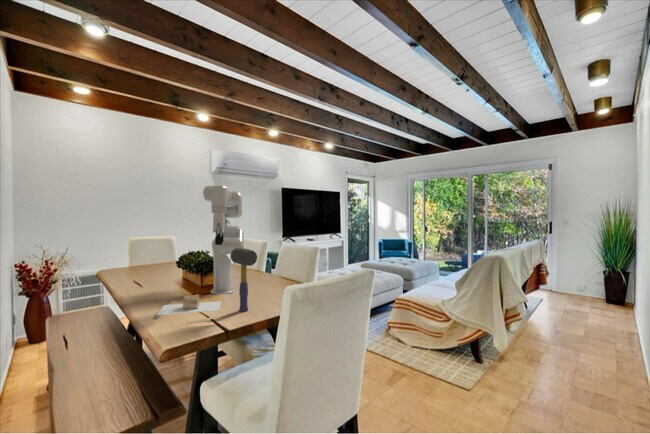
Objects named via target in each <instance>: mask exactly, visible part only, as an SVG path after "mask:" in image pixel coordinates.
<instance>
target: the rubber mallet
mask: <svg viewBox="0 0 650 434" xmlns="http://www.w3.org/2000/svg"><path fill="white" fill-rule="evenodd" d="M230 260H231V262H233V263H235V264H238V265H240V284H239V309H238V310H239V313H246V312H248V311H249V306H248V296H249V295H248V294H249V288H248V286H249V285H248V278H247V277H248V275H247V271H248V270H247V266H251V267H252V266H253V265H255V263H256V262H257V260H258V255H257V253H256V251H254V250H253V249H252V250H251V249H249V248H244V249H243V248H236V249H234V250H233V251H232V252H231V254H230Z"/></svg>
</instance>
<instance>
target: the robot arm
mask: <svg viewBox="0 0 650 434" xmlns="http://www.w3.org/2000/svg"><path fill="white" fill-rule="evenodd" d="M202 191H203V192H202V195H203V199H204V200H205V201H207V202H211V213H212V214H213V215H212V216H213V217H212V220H213V221H212V222H213V224H212V233H215V237H214V239H213V240H212V242H211V249H212V255H213V256H212V257H213V288H212V289H211V290H210V293H211V294H212V295H215V296H216V295H218V296H219V295H229V294H232V293H234V291H235V289H234V288H233V287H232V260H231V257H230V256H228V254H229V255H231V252H232V251H233V250H234V249H236V248H243V249H245V248H244V247H245V240H244V238H245V237H244V236H245V233H244V232H245V231H244V229H243V227H242V226H239V225H238V226H237V225H233V226H232V223H231V221H229V220H228V219H230V218H231V219H236V218H237V219H238V218H241V217H242V214H243V200H242V195H241V193H240V192H239V191H236V190H235V191H233V190H232V189H231V188H230V187H229V186H226V185H217V184H216V185H207V186H205V187H203V190H202Z"/></svg>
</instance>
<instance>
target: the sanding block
mask: <svg viewBox="0 0 650 434" xmlns="http://www.w3.org/2000/svg"><path fill="white" fill-rule="evenodd" d="M199 299H200V295H199V294H195V295H185V296H184V297H183V299H182V301H183V302H182V304H183V310H187V309H197V308H198V306H199V303H200V301H199Z"/></svg>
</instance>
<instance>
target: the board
mask: <svg viewBox="0 0 650 434" xmlns="http://www.w3.org/2000/svg"><path fill="white" fill-rule="evenodd" d="M221 305H222V300H220V301H219V300H218V301H208V302H207V301H205V302H204V301H203V302H199V306H198V308H197V309H187V310H183V303H178V304H176V303H175V304H174V303H173V304H164V305H163V306H162V307H161V309H160V310H159V311H158V312H157V314H156V315H155V319H160V317H161V316H162V315H163V316H165V315H174V314H175V315H177V314H189V313H191V314H192V313H201V312H203V313H204V312H216V311H219V310H220V309H221V308H220V307H221Z"/></svg>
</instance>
